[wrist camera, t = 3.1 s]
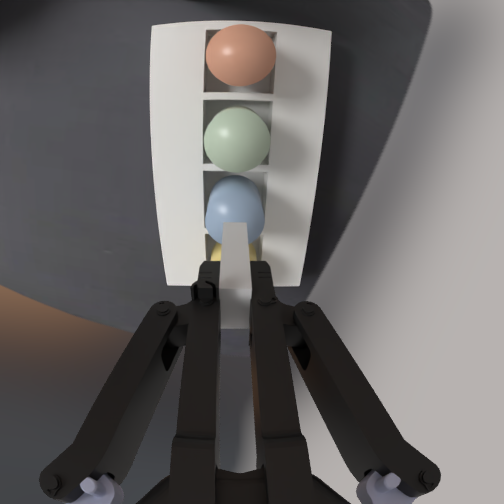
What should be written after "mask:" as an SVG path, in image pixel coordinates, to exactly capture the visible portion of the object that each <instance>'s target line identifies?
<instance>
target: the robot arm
mask: <svg viewBox="0 0 504 504" xmlns="http://www.w3.org/2000/svg"><path fill="white" fill-rule="evenodd" d="M191 296H192V301H190V302H189V303H187V304H184V305H181V306H176V305H175V304H173V303H172V302H169V301H160V302H157V303H155V304H154V305H153V306H152V307H151V308H150V310H149V311H148V313H147V314H146V316H145V317H144V319H143V321H142V322H141V324H140V325H139V327H138V329H137V330H136V332H135V334H134V335H133V337H132V338H131V340H130V342H129V343H128V345H127V347H126V348H125V350H124V352H123V353H122V355H121V357H120V358H119V360H118V362H117V364H116V366H115V367H114V369H113V371H112V372H111V374H110V376H109V377H108V379H107V381H106V383H105V384H104V386H103V388H102V390H101V392H100V393H99V395H98V397H97V399H96V401H95V402H94V404H93V406H92V408H91V410H90V411H89V413H88V416H87V417H86V419H85V421H84V423H83V425H82V427H81V428H80V430H79V432H78V434H77V436H76V438H75V440H74V442H73V444H72V445H70V446H69V447H68V448H67V449H66V450H65V451H64V452H63V453H61V454H60V455H59V456H58V457H57V458H56V459H55V460H54V461H53V462H52V463H50V464H49V465H48V466H47V467H46V468H45V469H44V470H43V471H42V472H41V474H40V478H39V482H40V486H41V488H42V490H43V492H44V493H45V494H46V495H47V496H49V497H50V498H53V499H55V500H58V501H61V502H63V503H65V504H122V502H123V500H124V493H123V490H122V488H121V487H120V486H119V485H120V484H121V483H122V481H123V480H124V479H125V477H126V476H127V474H128V472H129V470H130V468H131V466H132V463H133V461H134V459H135V456H136V454H137V451H138V449H139V447H140V444H141V442H142V440H143V437H144V435H145V433H146V430H147V428H148V426H149V423H150V421H151V419H152V416H153V414H154V412H155V409H156V407H157V405H158V403H159V400H160V398H161V396H162V393H163V391H164V389H165V387H166V384H167V382H168V380H169V377H170V375H171V373H172V371H173V369H174V366H175V364H176V362H177V360H178V357H179V355H180V353H181V351H182V348H183V346H184V345H186V347H185V354H184V362H183V371H182V380H181V389H180V398H179V408H178V420H177V430H176V435H175V437H174V438H173V441H172V451H171V464H170V475H169V476H167V477H165V478H164V479H162V480H161V481H160V482H159V483H158V484H157V485H155V487H153V488H152V489H151V490H150V491H149V492H148V493H147V494H146V495H145V496H144V497H143V498H142V499H141V500H139V501H138V502H137V503H136V504H351V503H349V502H348V501H347V500H345V499H344V498H343V497H342V496H340V495H339V494H338V493H337V492H335V491H334V490H333V489H332V488H330V487H329V486H328V485H327V484H325V483H324V482H323V481H322V480H321V479H319V478H318V477H316V476H315V475H312V474H311V467H310V460H309V454H308V448H307V442H306V439H305V437H304V436H303V435H302V433H301V430H300V424H299V417H298V411H297V405H296V399H295V392H294V386H293V380H292V374H291V368H290V362H289V356H288V350H289V351H290V353H291V355H292V358H293V360H294V362H295V363H296V365H297V368H298V370H299V372H300V374H301V376H302V378H303V380H304V382H305V384H306V386H307V388H308V390H309V392H310V394H311V396H312V398H313V400H314V402H315V404H316V406H317V408H318V410H319V412H320V414H321V416H322V418H323V420H324V422H325V424H326V426H327V428H328V430H329V432H330V434H331V436H332V438H333V440H334V442H335V444H336V445H337V448H338V450H339V452H340V454H341V456H342V458H343V459H344V461H345V463H346V465H347V467H348V468H349V470H350V472H351V473H352V474H353V476H354V477H355V478H356V479H357V481H358V482H359V484H358V486H357V490H356V493H357V497H358V498H359V500H360V502H361V503H362V504H412V502H413V501H414V500H415V499H416V498H417V497H419V496H421V495H424V494H426V493H429V492H431V491H433V490H434V489H435V488H436V487H437V486H438V484H439V482H440V478H441V473H440V470H439V468H438V467H437V465H436V464H434V463H433V462H432V461H430V460H429V459H428V458H427V457H425V456H424V455H423V454H421V453H420V452H419V451H418V450H416V449H415V448H414V447H412V446H411V445H410V444H409V443H408V442H406V441H405V440H404V439H403V437H402V435H401V434H400V432H399V430H398V429H397V428H396V426H395V424H394V422H393V421H392V419H391V417H390V416H389V414H388V413H387V411H386V409H385V408H384V406H383V404H382V403H381V401H380V400H379V398H378V396H377V395H376V393H375V392H374V390H373V388H372V387H371V385H370V384H369V382H368V381H367V379H366V377H365V376H364V374H363V373H362V371H361V370H360V368H359V366H358V365H357V363H356V362H355V360H354V359H353V357H352V356H351V354H350V353H349V351H348V349H347V348H346V346H345V345H344V343H343V342H342V340H341V339H340V337H339V336H338V334H337V333H336V331H335V330H334V328H333V327H332V325H331V324H330V322H329V320H328V319H327V318H326V316H325V314H324V313H323V311H322V310H321V308H320V307H319V306H318V305H317V304H315V303H312V302H308V301H303V302H300V303H298V304H297V305H296V306H295V307H294V306H289V305H286V304H283V303H281V302H280V301H279V300H278V298H277V297H276V295H275V290H274V285H273V279H272V273H271V268H270V265H269V264H268V263H267V262H266V261H250V258H249V246H248V234H247V223H246V222H223V234H222V248H221V261H204V262H203V263H202V264H201V265H200V267H199V273H198V280H197V281H195V282H194V283H193V284H192V286H191ZM249 327H250V333H249V346H250V358H251V375H252V391H253V407H254V421H255V422H254V423H255V438H256V454H257V461H256V462H257V463H256V467H257V470H253V471H249V472H245V473H234V472H230V471H225V470H221V469H220V444H219V441H220V440H219V439H220V436H219V435H220V433H219V431H220V428H219V427H220V420H219V419H220V416H219V415H220V414H219V413H220V411H219V410H220V348H221V328H224V329H249ZM287 347H288V350H287Z"/></svg>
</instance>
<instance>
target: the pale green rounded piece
mask: <svg viewBox="0 0 504 504" xmlns="http://www.w3.org/2000/svg"><path fill="white" fill-rule="evenodd" d="M270 143H271V138H270V133H269V130H268V127H267V126H266V124H265V123H264V121H263V120H262V119H261V118H260V117H259V115H258V114H257V113H256V112H255V111H253V110H252V109H250V108H248V107H245V106H239V105H236V106H230V107H227V108H224V109H223V110H221V111H220V112H218V113H217V114H216V115H215V117H214V118H213V120H212V121H211V122H210V124H209V125H208V127H207V129H206V131H205V135H204V148H205V151H206V154H207V156H208V158H209V159H210V160H211V161H212V163H213V164H215V165H216V166H217V167H219V168H220V169H222V170H225V171H228V172H235V173H239V172H245V171H249V170H251V169H253V168H255V167H257V166H258V165H259V164H260V163H261V162H262V161H263V160H264V159H265V157H266V156H267V154H268V152H269V148H270Z"/></svg>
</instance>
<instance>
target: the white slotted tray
mask: <svg viewBox="0 0 504 504" xmlns="http://www.w3.org/2000/svg"><path fill="white" fill-rule="evenodd" d="M238 24H245V25H251V26H254V27H257V28H259V29H261V30H262V31H264V32H265V33H266V34H267V35H268V36H269V37H270V38H271V40H272V41H273V43H274V46H275V49H276V61H275V64H274V66H273V68H272V70H271V72H270V73H269V74H268V75H267V76H266V77H265V78H264V79H262V80H261V81H259V82H257V83H254V84H251V85H247V86H240V87H238V86H231V85H228V84H226V83H224V82H222V81H221V80H219V79H218V78H216V77H215V76H214V75H213V74H212V72H211V71H210V69H209V68H208V65H207V62H206V49H207V46H208V43H209V42H210V40H211V39H212V37H213V36H214V35H215V34H216V33H217V32H219V31H220V30H222V29H224V28H226V27H228V26H232V25H238ZM331 33H332V31H327V30H322V29H316V28H310V27H304V26H297V25H289V24H280V23H269V22H255V21H196V22H182V23H171V24H162V25H155V26H152V33H151V53H150V124H151V147H152V163H153V176H154V188H155V198H156V208H157V217H158V225H159V233H160V241H161V248H162V255H163V261H164V268H165V274H166V280H167V285H183V286H192V284H193V283H194V282H195V281H197V280H198V273H199V267H200V265H201V264H202V263H203V262H204V261H211V253H212V249H213V247H214V245H215V244H216V243H217V242H216V241H215V240H214V239H213V238H212V237H211V236H210V235H209V233H208V231H207V229H206V225H205V217H206V212H207V207H208V202H209V197H210V193H211V190H212V188H213V186H214V185H215V183H216V182H217V181H219V180H220V179H222V178H224V177H226V176H230V175H240V176H244V177H246V178H248V179H250V180H251V181H252V182H254V184H255V185H256V186H257V188H258V190H259V194H260V198H261V203H262V208H263V212H264V218H265V223H264V228H263V231H262V233H261V234H260V236H259V237H258V238H257V239H256V240H255V241H253V242H252V245H253V246H254V248H255V250H256V257H257V261H266V262H267V263H268V264H269V265H270V268H271V273H272V279H273V285H274V286H300V281H301V275H302V270H303V265H304V259H305V253H306V248H307V242H308V236H309V230H310V224H311V218H312V211H313V205H314V198H315V192H316V185H317V177H318V170H319V163H320V155H321V147H322V138H323V130H324V121H325V111H326V101H327V90H328V78H329V65H330V51H331ZM236 105H239V106H245V107H248V108H250V109H252V110H253V111H255V112H256V113H257V114H258V115H259V117H260V118H261V119H262V120H263V121H264V123H265V124H266V126H267V127H268V130H269V133H270V138H271V143H270V148H269V152H268V154H267V156H266V157H265V159H264V160H263V161H262V162H261V163H260V164H259V165H258V166H257V167H255V168H253V169H251V170H249V171H245V172H239V173H235V172H228V171H225V170H222V169H220V168H219V167H217V166H216V165H215V164H213V163H212V161H211V160H210V159H209V158H208V156H207V154H206V151H205V148H204V135H205V131H206V129H207V127H208V125H209V124H210V122H211V121H212V120H213V118H214V117H215V115H216V114H217V113H218V112H220V111H221V110H223V109H224V108H227V107H230V106H236Z"/></svg>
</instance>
